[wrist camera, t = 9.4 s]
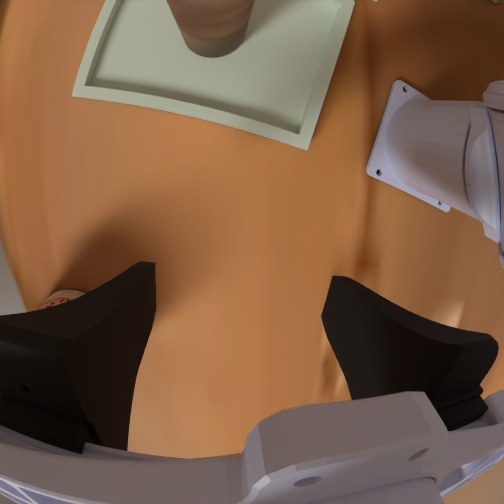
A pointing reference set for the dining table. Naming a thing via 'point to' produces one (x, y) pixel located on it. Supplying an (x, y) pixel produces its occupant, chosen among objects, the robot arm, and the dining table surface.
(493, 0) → the food packaging
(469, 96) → the dining table surface
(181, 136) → the dining table surface
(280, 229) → the dining table surface
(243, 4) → the walnut pin
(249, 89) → the sage tray
